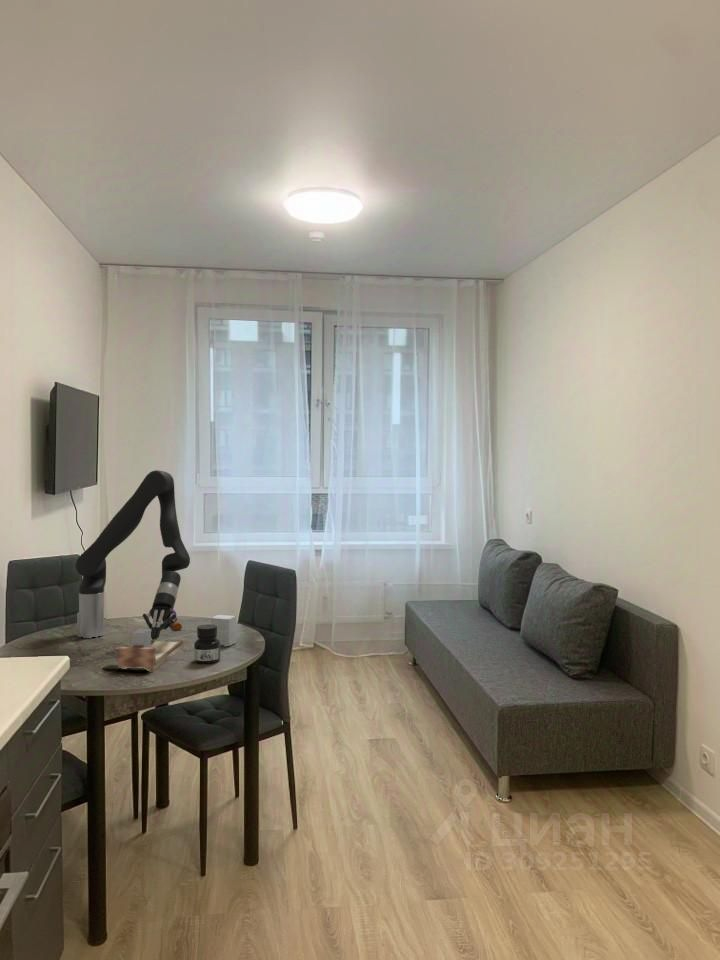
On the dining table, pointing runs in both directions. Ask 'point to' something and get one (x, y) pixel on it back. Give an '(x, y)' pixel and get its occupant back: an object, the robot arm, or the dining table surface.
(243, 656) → the dining table surface
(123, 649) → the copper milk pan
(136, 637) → the block
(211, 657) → the ink bottle
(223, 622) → the small box
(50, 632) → the dining table surface
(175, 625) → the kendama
